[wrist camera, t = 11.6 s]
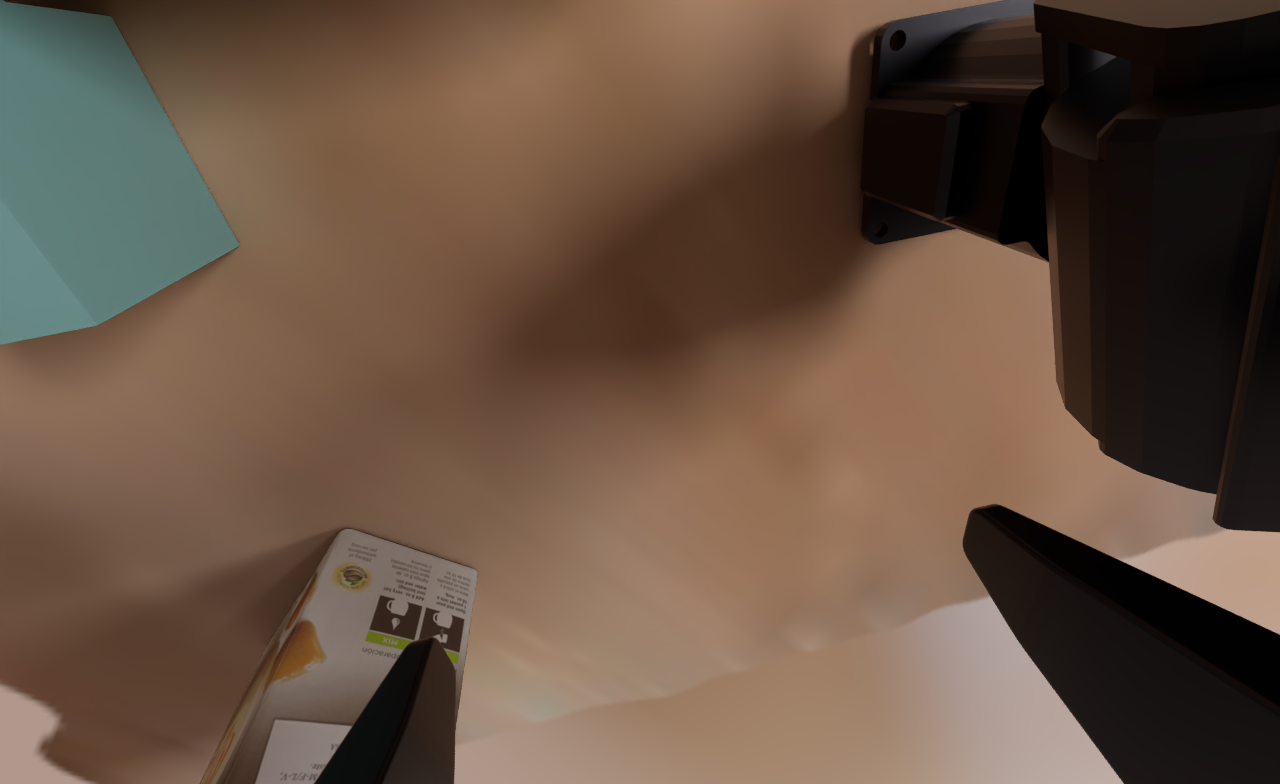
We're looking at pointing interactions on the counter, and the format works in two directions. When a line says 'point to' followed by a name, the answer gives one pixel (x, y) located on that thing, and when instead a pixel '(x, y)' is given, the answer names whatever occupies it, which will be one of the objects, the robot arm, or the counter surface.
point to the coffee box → (340, 656)
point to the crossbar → (89, 178)
